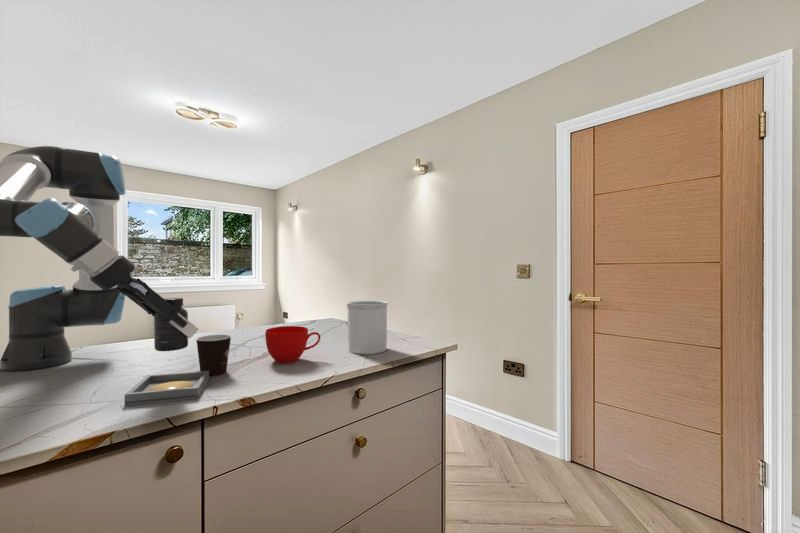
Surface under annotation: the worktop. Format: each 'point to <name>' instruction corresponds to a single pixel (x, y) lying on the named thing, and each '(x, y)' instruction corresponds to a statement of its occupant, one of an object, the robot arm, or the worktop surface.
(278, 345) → the ceramic cup
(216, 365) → the coffee mug
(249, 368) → the worktop surface
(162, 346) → the supplement bottle
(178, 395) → the tray
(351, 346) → the utensil holder
